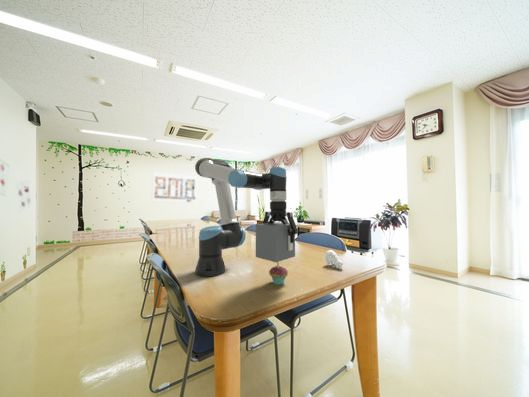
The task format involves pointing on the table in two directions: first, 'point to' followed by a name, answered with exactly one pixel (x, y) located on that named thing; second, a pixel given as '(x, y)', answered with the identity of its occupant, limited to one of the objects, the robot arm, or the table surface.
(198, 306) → the table surface
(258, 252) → the grey chamfered box
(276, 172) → the robot arm
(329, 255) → the white figurine
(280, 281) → the cupcake
